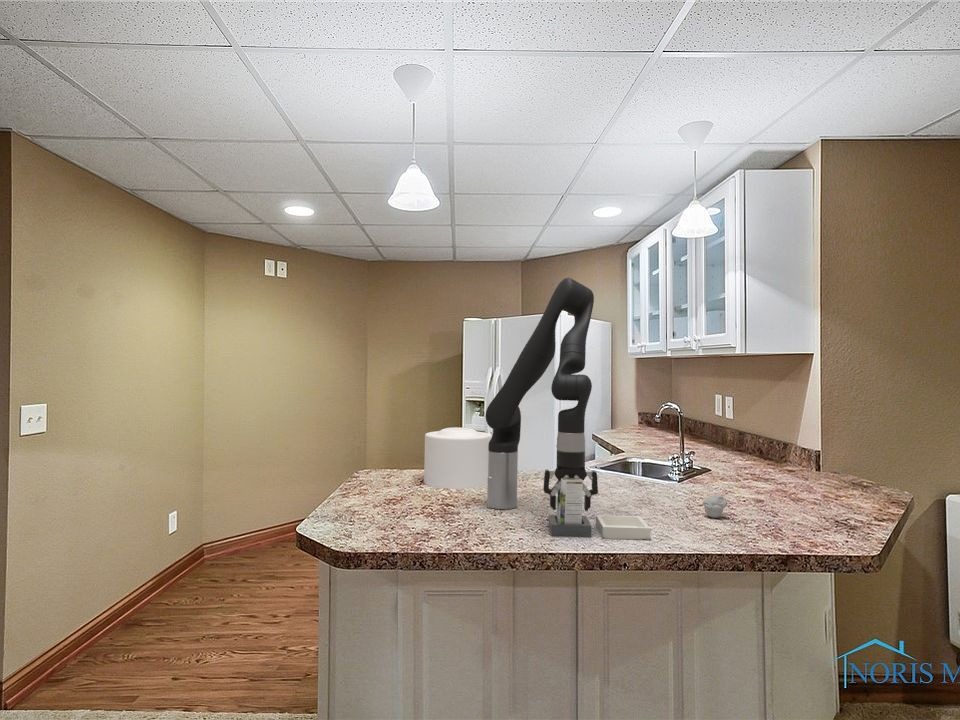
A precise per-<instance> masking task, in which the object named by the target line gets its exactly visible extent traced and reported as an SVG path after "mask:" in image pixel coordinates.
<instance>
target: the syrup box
mask: <svg viewBox="0 0 960 720" xmlns="http://www.w3.org/2000/svg"><path fill="white" fill-rule="evenodd" d="M583 483H584V480H582V479H574V478H565V479H563V478H561V489H560V490H558V492H557V497H556V515H557V523H566V524H582V516H583V493H584V491H583Z"/></svg>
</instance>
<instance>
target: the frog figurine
mask: <svg viewBox="0 0 960 720" xmlns="http://www.w3.org/2000/svg"><path fill="white" fill-rule="evenodd" d="M728 501H729V500H728V499H727V498H726V497H724V496H723V495H722V494H719V493H715V494H713V495H711V496H709V497H707V498H705V499H704V500H703V501H702V504H703V505H704V511H705V514H706V515H707V516H708V517H710V518H711V519H712V518H713V519H717V518H719V517H722V515H723V512H724V509H725V508H726V507H727V505H728Z"/></svg>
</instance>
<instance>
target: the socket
mask: <svg viewBox="0 0 960 720" xmlns="http://www.w3.org/2000/svg"><path fill="white" fill-rule="evenodd" d="M548 529H549V532H550V535H551V537H558V538H559V537H561V538H562V537H565V538H569V537H570V538H592V525H591V523H590V521H589V519H588V517H587V515H582V524H566V523H557V514H548Z"/></svg>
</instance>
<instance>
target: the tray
mask: <svg viewBox="0 0 960 720" xmlns="http://www.w3.org/2000/svg"><path fill="white" fill-rule="evenodd" d="M595 527H596V528H597V531H598V530H599V531H598V533H599V534H600V536H601V537H602V539H603V540H626V539H641V540H640V541H643V540H642V539H646V540H645V541H651V536H652V534H651V533H652V528H651V527H650V526H649V524H648V523H646V521H645V520H644V519H643V518H642V517H641V516H640V515H637V516H636V515H611V514H610V515H607V514H606V515H604V514H603V515H602V514H598V515H597V514H596V515H595ZM647 539H648V540H647Z"/></svg>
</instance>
